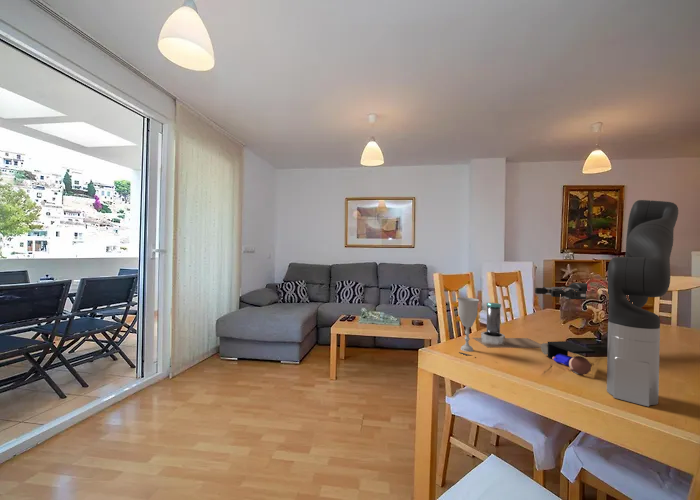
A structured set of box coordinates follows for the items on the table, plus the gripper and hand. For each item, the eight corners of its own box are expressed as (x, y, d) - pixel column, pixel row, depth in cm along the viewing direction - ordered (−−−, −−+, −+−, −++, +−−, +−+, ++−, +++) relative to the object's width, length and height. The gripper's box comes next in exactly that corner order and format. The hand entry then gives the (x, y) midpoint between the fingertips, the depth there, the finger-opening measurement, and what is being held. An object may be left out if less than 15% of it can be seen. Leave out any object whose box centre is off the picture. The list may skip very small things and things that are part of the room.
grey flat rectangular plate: (527, 341, 121) (527, 338, 121) (549, 351, 109) (549, 347, 109) (471, 340, 120) (471, 337, 120) (487, 350, 108) (487, 347, 108)
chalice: (451, 350, 107) (452, 297, 107) (468, 349, 109) (469, 297, 109) (465, 357, 100) (466, 301, 100) (482, 355, 102) (484, 300, 102)
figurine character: (539, 363, 101) (575, 376, 86) (538, 338, 102) (573, 347, 87) (559, 363, 101) (599, 376, 86) (558, 339, 102) (597, 348, 87)
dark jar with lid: (497, 345, 111) (498, 305, 111) (483, 342, 114) (484, 303, 114) (502, 342, 114) (502, 303, 114) (488, 339, 118) (489, 302, 118)
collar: (500, 346, 109) (500, 338, 109) (478, 342, 114) (478, 333, 114) (507, 342, 114) (507, 334, 114) (485, 338, 120) (486, 330, 120)
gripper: (571, 281, 121) (530, 279, 120) (603, 285, 107) (558, 283, 105) (570, 301, 121) (530, 299, 120) (603, 307, 106) (557, 305, 105)
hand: (543, 292), depth 112 cm, fingers open, 8 cm apart
